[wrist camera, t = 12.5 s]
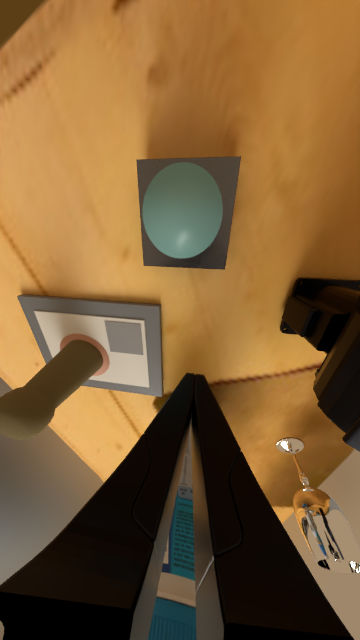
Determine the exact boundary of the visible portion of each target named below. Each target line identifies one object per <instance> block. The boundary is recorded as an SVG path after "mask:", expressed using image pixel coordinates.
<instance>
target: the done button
mask: <svg viewBox="0 0 360 640" xmlns="http://www.w3.org/2000/svg"><path fill="white" fill-rule="evenodd" d="M222 216H223V203H222V197H221V193H220V190H219V188H218V185H217V183H216V182H215V180H214V178H213V177H212V176H211V175H210V174H209V173H208V172H207V171H206V170H205V169H203V168H202V167H200V166H198V165H196V164H193V163H189V162H179V163H174V164H171V165H169V166H167V167H165V168H164V169H162V170H161V171H160V172H159V173H158V174H157V175H156V176H155V177H154V178H153V179H152V181H151V183H150V184H149V186H148V188H147V190H146V193H145V196H144V201H143V222H144V226H145V230H146V232H147V235H148V237H149V238H150V240H151V242H152V243H153V244H154V246H155V247H156V248H157V249H158V250H160V251H161V252H162V253H164V254H166V255H168V256H170V257H174V258H180V259H182V258H190V257H193V256H196V255H198V254H200V253H201V252H203V251H204V250H205V249H206V248H207V247H208V246H209V245H210V244H211V243H212V242H213V240H214V239H215V237H216V235H217V233H218V231H219V229H220V225H221V221H222Z"/></svg>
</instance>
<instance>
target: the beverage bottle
mask: <svg viewBox="0 0 360 640" xmlns="http://www.w3.org/2000/svg"><path fill="white" fill-rule="evenodd" d="M191 417H192V416H191ZM158 584H159V585H158V591H157V596H156V601H155V606H154V611H153V616H152V621H151V626H150V631H149V636H148V640H197V638H196V599H195V595H196V592H195V560H194V522H193V484H192V446H191V424H190V430H189V435H188V440H187V445H186V450H185V455H184V460H183V465H182V470H181V475H180V480H179V485H178V490H177V495H176V500H175V505H174V510H173V515H172V520H171V525H170V530H169V535H168V540H167V545H166V550H165V555H164V561H163V566H162V571H161V576H160V581H159V582H158Z"/></svg>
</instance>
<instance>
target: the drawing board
mask: <svg viewBox="0 0 360 640" xmlns="http://www.w3.org/2000/svg"><path fill="white" fill-rule="evenodd" d="M17 297H18V300H19V302H20V304H21V307H22V309H23V311H24V313H25V316H26V318H27V320H28V323H29V325H30V327H31V330H32V332H33V334H34V337H35V339H36V341H37V344H38V346H39V348H40V351H41V353H42V355H43V358H44V360H45V362H46V364H47V363H48V362H49V361H50V360H51V359H53V358H54V357H55V356H56V355H57V354H58V353H59V352H60V351H61V350H62V349H63V348H64V347H65V346H66V345H67V344H68V343H69V342H71V341H73V340H84V341H87V342H89V343H91V344H92V345H94V346H95V347H96V348H97V349H98V350H99V351H100V353H101V355H102V357H103V365H102V367H101V368H100V369H99V370H98V371H97V372H96V373H95V374H94V375H92V376H91V377H90V378H89V379H88V380H87V381H86V382H85V383H83V384H82V385H81V386H88V387H96V388H103V389H110V390H117V391H124V392H131V393H138V394H145V395H152V396H159V397H162V395H163V368H162V331H161V305H159V304H145V303H132V302H118V301H105V300H92V299H78V298H65V297H51V296H38V295H25V294H22V295H19V296H17Z"/></svg>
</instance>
